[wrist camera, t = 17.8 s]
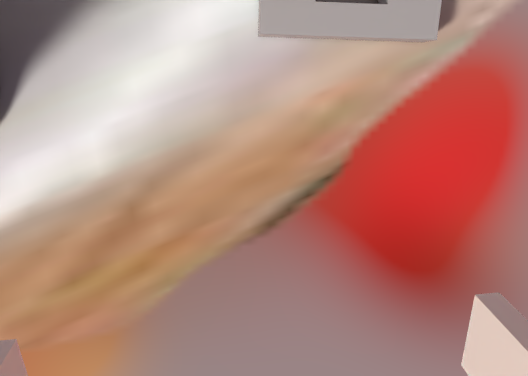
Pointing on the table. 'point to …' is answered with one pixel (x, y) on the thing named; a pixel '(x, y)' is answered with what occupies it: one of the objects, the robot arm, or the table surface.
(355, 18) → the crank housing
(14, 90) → the table surface
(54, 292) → the table surface
